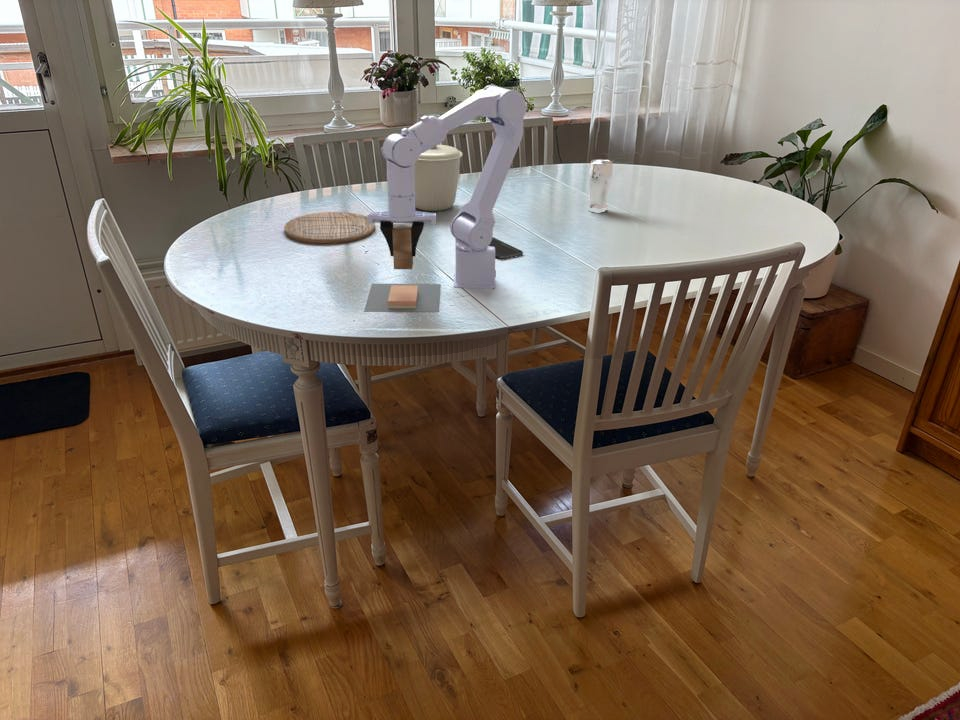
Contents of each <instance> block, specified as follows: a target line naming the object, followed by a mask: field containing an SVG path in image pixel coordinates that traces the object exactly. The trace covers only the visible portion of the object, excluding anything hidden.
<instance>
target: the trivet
mask: <svg viewBox="0 0 960 720" xmlns="http://www.w3.org/2000/svg"><path fill="white" fill-rule="evenodd" d="M283 227H284V234H285V236H286V237H288V238H289V239H290V240H292V241H295V242H298V243H303V244H309V245H339V244H346V243H354V242H357V241H361V240H364V239H366V238H368V237H370V236H372V235H373V234H374V233H375V232H376V223H373V224H368V215H363V214H360V213H354V212H347V211H325V212H324V211H323V212H316V213H308V214H304V215H303V214H302V215H300V216H296V217H295V218H292V219H289V221H287V222H286V223H285V225H284V226H283ZM374 231H375V232H374ZM373 232H374V233H373ZM372 233H373V234H372ZM371 234H372V235H371Z"/></svg>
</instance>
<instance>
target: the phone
mask: <svg viewBox="0 0 960 720" xmlns="http://www.w3.org/2000/svg"><path fill="white" fill-rule="evenodd" d="M489 246H491V247H495V257H496V258H495V259H496V260H499V259H502V260H503V259H504V260H507V258H509V259H512V258H511V257H513V258H516V257H515V256H518V257H520V256H519V255H522V254H523V255H524V251H523V250H521V249H519V248H517V247H514V246H512V245H511V244H509V243H506V242H504V241H502V240H500V239H498V238H496V237H492V241H491V243H490V244H489ZM523 255H522V256H523ZM502 260H501V261H502Z"/></svg>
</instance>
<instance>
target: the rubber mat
mask: <svg viewBox="0 0 960 720" xmlns="http://www.w3.org/2000/svg"><path fill="white" fill-rule="evenodd" d="M391 285H418V297H417V305H416V308H388V299H389V294H390V290H391ZM441 288H442V284H441V283H371V286H370V290H369V293H368V296H367V299H366V302H365V306H364V310H363V312H365V313H368V312H369V313H372V312H373V313H439V312H440V303H441V302H440V301H441Z"/></svg>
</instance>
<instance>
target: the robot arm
mask: <svg viewBox="0 0 960 720" xmlns="http://www.w3.org/2000/svg"><path fill="white" fill-rule="evenodd" d="M527 110H528V107H527V104H526V101H525V100H524V96H523V95H522V93H521V92H519V91H518V90H515V89H508V88H505V87H501V86H498V85H496V84H488V85H486V86H485V87H483V88H482V89H478V90H476V91H474V93H473V94H472V95H471V96H470V97H468V98H467V99H465V100H463V101H462V102H461V103H459V104H457V105H456V106H454V107H452V109H451V108H450V110H448V111H447V112H445V113H444V114H442V115H441V116H439V117H437V116H434V115H430V116H427V115H423V116H422V117H420V121H418V122H417V123H415V124H414V125H412V126H410V127H408V128H406V127H404V128H402V129H401V133H392V134H390V135H388V136H387V137H386V138H385V140H384V141H383V144H382V147H381V148H380V152H381V154H382V156H383V158H384V159H385V160H386V180H387V181H386V183H387V205H388V206H387V208H388V210H385V211H384V210H383V211H375V212H374V211H369V212H368V213H367V217H368V224H373V223H375V224H377V223H379V224H380V225H379V228H380V232H381V233H382V235H383V237H384V238H385V241H386V243H387V246H388V250H389V254H390V256H391V257H393V235H392V229H393V225H394V224H412V256H413V257H416V253H417V246H418V243H419V239H420V237H421V235H422V233H423V230H424V226H425V224H430V225H436V224H437V213H436V212H427V211H416V207H415V177H414V164H415V163H416V161H417V160H418V157H419V155H421V154H422V153H424V152H426V151H427V150H429V149H431V148H433V147H434V146H436V145H440V144H441V143H443V142H444V141H445V140H446V137H447V134H448V132H450V131H452V130H454V129H456V128H458V127H460V126H462V125H465V124H466V123H468V122H470V121H473V120H474V119H476V118H478V117H484V118H487V119H488V120H489V122H490V123H491V124H492V127H493V129H494V130H493V131H495V138H494V140H493V142H492V145H491V148H490V151H489V152H488V155H487V158H486V161H485V163H484V165H483V166H482V170H481V173H480V175H479V178H478V180H477V183H476V185H475V187H474V190H473V193H472V195H471V198H470V200H469V201H468V202H467V203H465V204H463V205H461V208H460V210H459V212H458V214H456V215H455V216H454V218H453V219H452V221H451V224H450V227H449V229H450V232H451V235H452V237H453V238H454V240H455V241H454V242H455V266H454V267H455V270H454V271H455V274H453V288H457V289H459V288H461V289H462V288H463V289H464V288H465V289H472V288H473V289H495V283H496V282H495V280H496V277H497V273H496V272H497V271H496V258H495V247H491V246H489V244H490V243H491V241H492V237H493V236H494V233H493V231H494V230H493V229H494V226H495V224H496V220H495V216H494V214H493V213H494V212H493V209H494V207H495V204H496V203H497V199H498V197H499V195H500V194H501V190H502V189H503V185H504V182H505V181H506V178H507V175H508V173H509V170H510V168H511V166H512V164H513V161H514V158H515V155H516V153H517V151H518V150H519V149H518V148H519V146H520V144H521V141H522V139H523V136H524V117H525V115H526V112H527Z"/></svg>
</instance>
